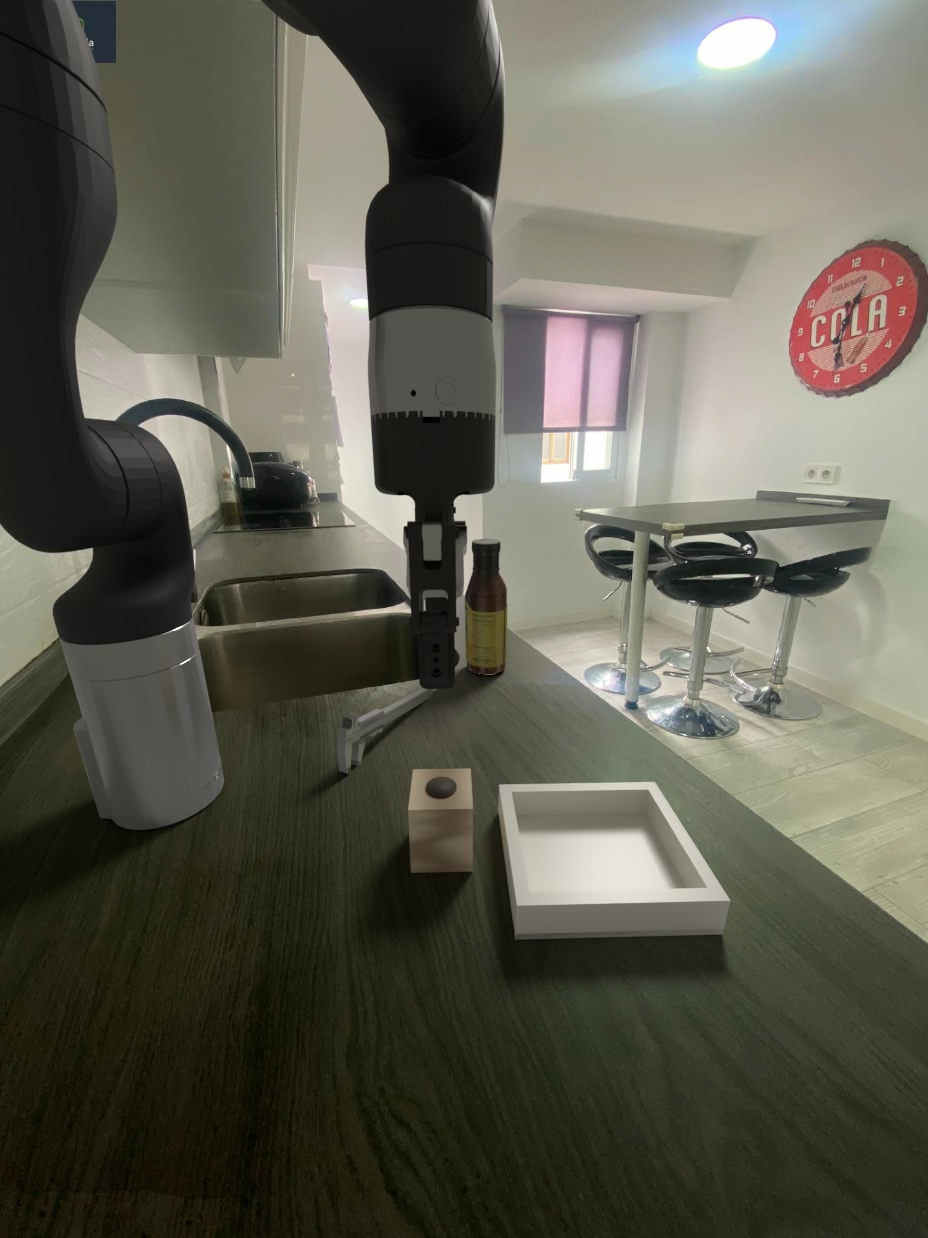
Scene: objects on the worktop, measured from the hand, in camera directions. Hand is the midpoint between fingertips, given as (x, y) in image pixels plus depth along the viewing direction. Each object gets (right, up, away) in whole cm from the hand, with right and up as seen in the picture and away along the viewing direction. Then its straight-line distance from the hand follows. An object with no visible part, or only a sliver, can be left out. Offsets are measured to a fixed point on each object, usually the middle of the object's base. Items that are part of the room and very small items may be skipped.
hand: (439, 659), depth 33 cm
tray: (+12, -16, +4) cm, 21 cm away
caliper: (-7, -10, +23) cm, 26 cm away
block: (0, -16, +5) cm, 17 cm away
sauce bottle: (+5, -5, +39) cm, 39 cm away
